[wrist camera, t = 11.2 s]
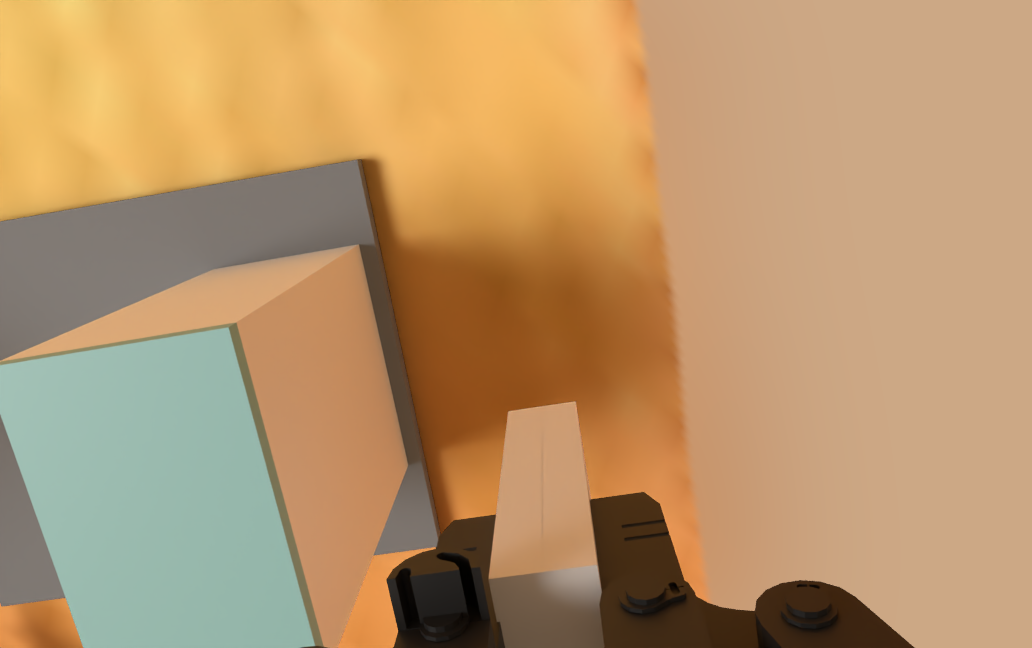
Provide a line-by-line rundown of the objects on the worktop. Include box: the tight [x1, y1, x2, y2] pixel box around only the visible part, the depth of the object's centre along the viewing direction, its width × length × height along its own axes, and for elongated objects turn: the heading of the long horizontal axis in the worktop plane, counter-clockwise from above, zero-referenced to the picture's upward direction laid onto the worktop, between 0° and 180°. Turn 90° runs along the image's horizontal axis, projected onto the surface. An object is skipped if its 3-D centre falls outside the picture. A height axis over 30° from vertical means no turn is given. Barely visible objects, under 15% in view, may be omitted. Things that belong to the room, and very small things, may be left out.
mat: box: [0, 159, 441, 606], centre depth 27 cm, size 14×17×1 cm
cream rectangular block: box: [0, 244, 408, 648], centre depth 21 cm, size 8×5×11 cm, turn 10°
